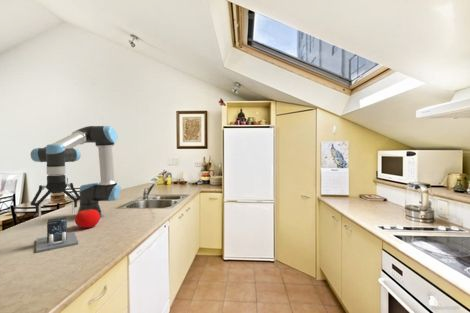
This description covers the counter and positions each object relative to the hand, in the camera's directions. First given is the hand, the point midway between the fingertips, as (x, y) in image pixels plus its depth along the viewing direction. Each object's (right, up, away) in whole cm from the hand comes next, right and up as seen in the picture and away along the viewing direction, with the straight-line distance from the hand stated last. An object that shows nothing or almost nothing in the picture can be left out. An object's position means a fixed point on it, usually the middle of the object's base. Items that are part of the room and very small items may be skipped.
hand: (57, 216), depth 120 cm
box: (0, -12, 0) cm, 12 cm away
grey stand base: (0, -13, 0) cm, 13 cm away
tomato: (0, -13, +25) cm, 28 cm away
